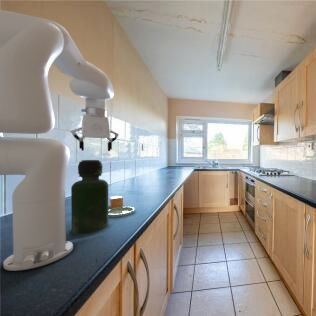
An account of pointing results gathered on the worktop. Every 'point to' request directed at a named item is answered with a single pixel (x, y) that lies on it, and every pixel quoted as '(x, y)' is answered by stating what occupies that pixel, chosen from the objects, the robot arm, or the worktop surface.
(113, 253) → the worktop surface
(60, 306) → the worktop surface
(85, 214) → the dark green bottle
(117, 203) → the cube
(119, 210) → the white plate
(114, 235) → the worktop surface
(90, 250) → the worktop surface
